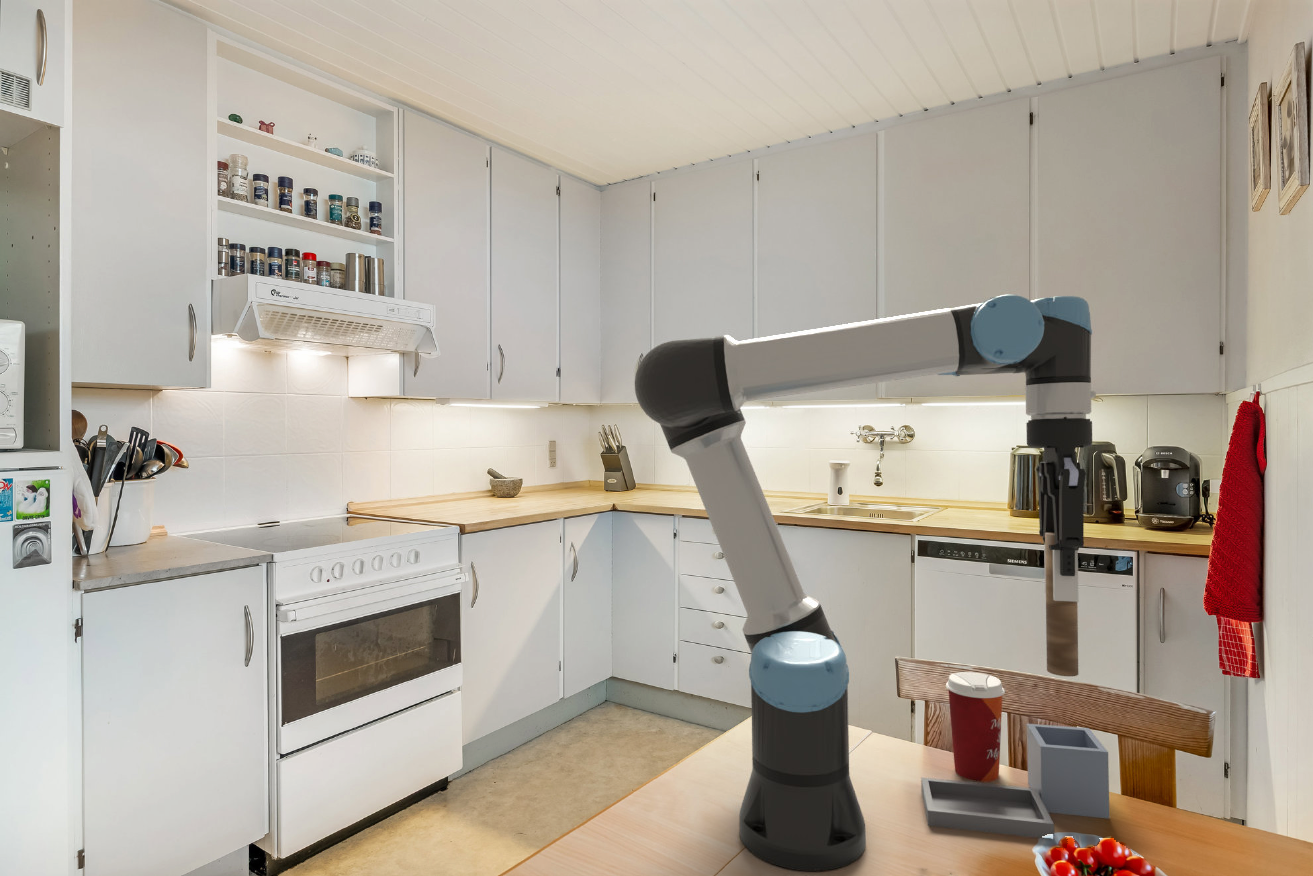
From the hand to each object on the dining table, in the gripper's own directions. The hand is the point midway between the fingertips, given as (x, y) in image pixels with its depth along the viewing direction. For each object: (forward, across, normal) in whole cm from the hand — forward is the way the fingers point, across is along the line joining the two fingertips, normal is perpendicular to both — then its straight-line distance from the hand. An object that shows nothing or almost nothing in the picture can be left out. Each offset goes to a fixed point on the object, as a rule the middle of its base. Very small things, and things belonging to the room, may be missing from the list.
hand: (1061, 596), depth 95 cm
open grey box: (+27, 0, 0) cm, 27 cm away
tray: (+27, -6, +11) cm, 30 cm away
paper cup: (+28, +6, +10) cm, 30 cm away
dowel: (+10, 0, 0) cm, 10 cm away
